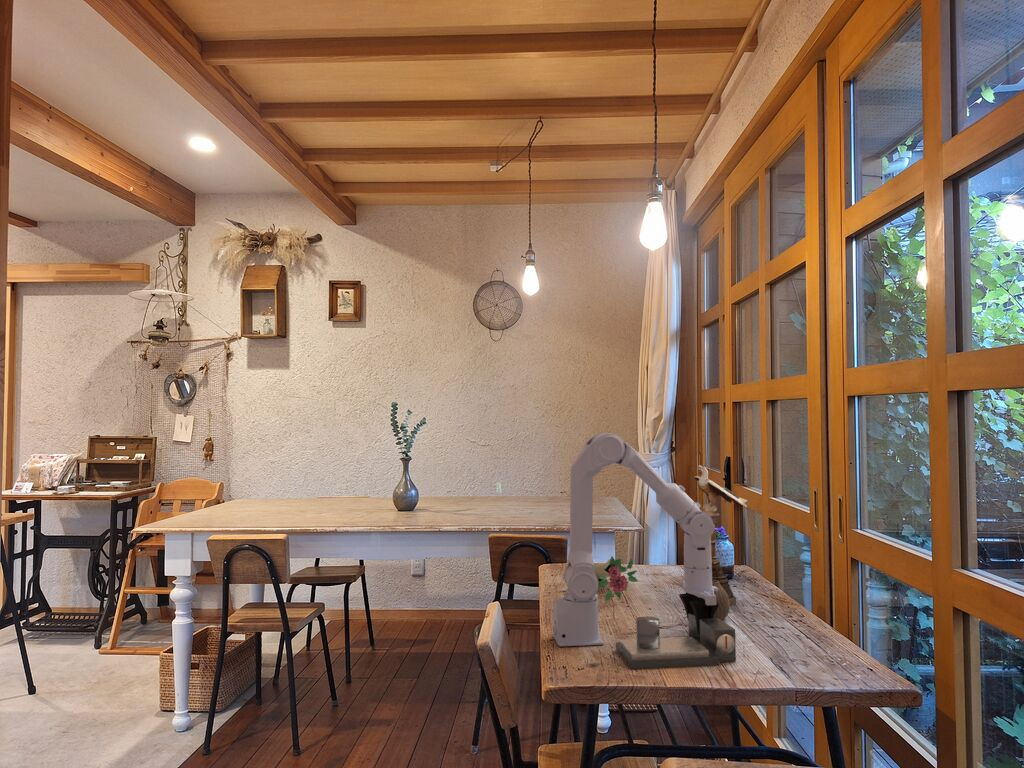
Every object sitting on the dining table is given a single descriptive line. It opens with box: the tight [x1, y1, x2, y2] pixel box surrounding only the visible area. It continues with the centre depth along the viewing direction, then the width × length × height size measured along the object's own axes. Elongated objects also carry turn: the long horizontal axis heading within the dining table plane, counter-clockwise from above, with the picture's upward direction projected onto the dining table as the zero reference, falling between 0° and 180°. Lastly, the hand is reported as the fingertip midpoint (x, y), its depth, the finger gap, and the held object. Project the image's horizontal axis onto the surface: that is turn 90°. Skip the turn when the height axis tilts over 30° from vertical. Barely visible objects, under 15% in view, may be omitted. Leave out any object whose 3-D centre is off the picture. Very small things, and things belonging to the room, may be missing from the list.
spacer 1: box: [635, 615, 661, 649], centre depth 140 cm, size 4×4×5 cm
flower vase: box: [594, 556, 639, 601], centre depth 194 cm, size 12×12×35 cm
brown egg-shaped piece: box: [712, 580, 731, 621], centre depth 168 cm, size 7×7×9 cm
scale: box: [615, 618, 737, 670], centre depth 141 cm, size 21×11×6 cm, turn 96°
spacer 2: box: [687, 612, 700, 641], centre depth 153 cm, size 4×4×5 cm
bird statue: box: [693, 464, 749, 607], centre depth 185 cm, size 17×13×35 cm
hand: (699, 631), depth 153 cm, fingers closed on spacer 2, 4 cm apart
